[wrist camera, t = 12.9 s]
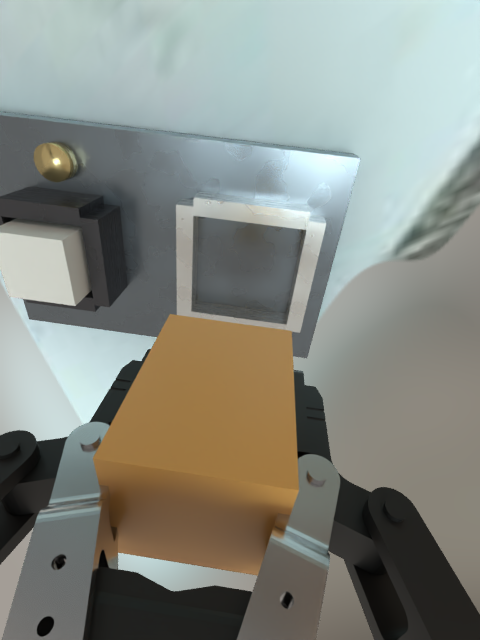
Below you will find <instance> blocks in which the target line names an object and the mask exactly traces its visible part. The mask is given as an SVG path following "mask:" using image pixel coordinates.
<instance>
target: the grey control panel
mask: <svg viewBox="0 0 480 640" xmlns="http://www.w3.org/2000/svg"><path fill="white" fill-rule="evenodd" d="M360 160H361V158H359V157H358V156H356V155H355V154H350V153H342V152H333V151H325V150H317V149H308V148H300V147H292V146H283V145H275V144H267V143H259V142H250V141H242V140H234V139H225V138H217V137H209V136H201V135H192V134H184V133H176V132H167V131H159V130H151V129H143V128H134V127H126V126H118V125H109V124H101V123H93V122H84V121H76V120H68V119H60V118H51V117H43V116H35V115H26V114H18V113H10V112H2V111H0V225H3V224H5V223H7V222H10V221H12V220H14V219H16V218H18V219H26V220H34V221H41V222H49V223H57V224H64V225H72V226H80V227H81V228H82V234H83V240H84V246H85V252H86V258H87V264H88V270H89V276H90V282H91V288H92V290H91V291H90V292H89V293H88V294H87V295H86V296H85V297H84V298H83V299H82V300H81V301H80V302H79V303H78V304H77V305H76V306H71V305H64V304H57V303H50V302H42V301H35V300H28V299H23V300H24V303H25V307H26V310H27V313H28V317H29V319H32V320H39V321H46V322H53V323H60V324H67V325H74V326H82V327H89V328H96V329H103V330H110V331H117V332H124V333H132V334H139V335H146V336H153V337H158V335H159V333H160V332H161V330H162V328H163V326H164V324H165V322H166V320H167V318H168V317H169V315H170V314H174V315H181V316H188V317H195V318H202V319H210V320H217V321H224V322H231V323H239V324H246V325H253V326H260V327H267V328H275V329H282V330H289V331H292V347H293V356H296V357H304V358H307V356H308V353H309V349H310V345H311V341H312V338H313V334H314V330H315V327H316V323H317V319H318V315H319V312H320V308H321V304H322V301H323V297H324V293H325V289H326V286H327V282H328V278H329V275H330V271H331V267H332V263H333V260H334V256H335V252H336V249H337V245H338V241H339V238H340V234H341V230H342V226H343V223H344V219H345V215H346V212H347V208H348V204H349V200H350V197H351V193H352V189H353V186H354V182H355V178H356V174H357V171H358V167H359V163H360Z"/></svg>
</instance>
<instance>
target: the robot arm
mask: <svg viewBox="0 0 480 640" xmlns="http://www.w3.org/2000/svg"><path fill="white" fill-rule="evenodd" d="M150 350H151V349H148V350H147V352H146V354H145V356H144V357H143V359H142V361H135V360H132V361H131V362H130V363H129V364H127V365H126V366H125V367H123V368H122V369H121V371H120V373H119V374H118V376H117V378H116V381H114V383H113V384H112V386H111V389H109V391H108V393H107V394H106V396H105V398H104V399H103V401H102V402H101V404H100V406H99V407H98V409H97V411H96V412H95V414H94V416H93V417H92V419H91V421H90V422H89V423H86V424H84V425H81V426H79V427H78V428H76V429H75V430H74V431H73V432H72V433H71V434H70V435H69V436H68V437H65V438H60V439H53V440H45V441H36V438H35V436H34V435H33V434H31V433H30V432H27V431H20V430H18V431H12V432H8V433H5V434H3V435H0V564H1V563H2V562H3V561H4V560H5V559H6V557H7V556H8V555H9V554H10V553H11V552H12V551H13V550H14V549H15V547H16V546H17V545H18V544H19V543H20V542H21V541H22V539H24V537H25V536H26V535H27V534H28V533H29V532H30V531H31V530H32V528H33V527H34V529H33V532H32V536H31V539H30V542H29V546H28V550H27V553H26V556H25V560H24V563H23V567H22V571H21V574H20V578H19V581H18V585H17V588H16V592H15V595H14V599H13V602H12V606H11V609H10V613H9V616H8V620H7V623H6V627H5V630H4V634H3V637H2V640H316V638H317V632H318V627H319V621H320V615H321V609H322V604H323V598H324V592H325V587H326V581H327V575H328V569H329V562H330V555H329V553H328V551H330V552H331V553H333V554H335V555H337V556H339V557H341V558H343V559H344V561H345V564H346V566H347V569H348V572H349V574H350V577H351V579H352V582H353V585H354V588H355V590H356V593H357V595H358V598H359V601H360V603H361V606H362V608H363V611H364V614H365V616H366V619H367V622H368V624H369V627H370V630H371V632H372V634H373V637H374V640H480V614H479V613H478V611H477V609H476V608H475V606H474V604H473V603H472V601H471V599H470V598H469V596H468V594H467V593H466V591H465V589H464V588H463V586H462V585H461V583H460V581H459V579H458V578H457V576H456V574H455V573H454V571H453V570H452V568H451V566H450V564H449V563H448V561H447V559H446V558H445V556H444V554H443V553H442V551H441V550H440V548H439V546H438V544H437V543H436V541H435V539H434V538H433V536H432V534H431V533H430V531H429V529H428V528H427V526H426V524H425V523H424V521H423V519H422V518H421V516H420V514H419V513H418V511H417V509H416V508H415V506H414V505H413V503H412V502H411V501H410V500H409V499H408V498H407V497H405V496H404V495H403V494H402V493H400V492H398V491H396V490H394V489H391V488H387V487H381V488H377V489H375V490H374V491H372V492H369V491H367V490H365V489H363V488H361V487H358V486H356V485H354V484H352V483H350V482H349V481H347V480H346V479H344V478H343V477H342V476H341V475H340V474H339V473H338V471H337V469H336V468H335V467H334V465H333V463H332V461H331V456H330V449H329V442H328V435H327V428H326V422H325V413H324V406H323V399H322V397H321V395H320V393H319V392H318V390H317V389H316V387H313V386H306V385H304V374H303V371H298V370H294V391H295V413H296V435H297V457H298V479H299V492H298V495H297V498H296V500H295V503H294V506H293V509H292V512H291V515H287V514H280V513H278V516H277V519H276V522H275V525H274V528H273V531H272V534H271V537H270V540H269V543H268V546H267V549H266V552H265V555H264V558H263V561H262V564H261V567H260V570H259V573H258V576H257V580H256V583H255V586H254V589H253V592H251V591H245V590H239V589H232V588H226V587H220V586H210V587H203V588H196V589H191V590H183V591H175V592H174V591H170V590H168V589H166V588H164V587H163V586H161V585H159V584H157V583H155V582H153V581H151V580H149V579H148V578H146V577H144V576H142V575H140V574H138V573H136V572H130V571H124V570H118V538H119V535H118V530H117V527H112V526H110V521H109V505H110V492H109V488H108V486H103V485H99V482H98V478H97V474H96V470H95V466H94V462H93V457H94V455H95V453H96V451H97V449H98V448H99V446H100V444H101V442H102V440H103V438H104V436H105V434H106V433H107V431H108V429H109V427H110V425H111V423H112V421H113V419H114V418H115V416H116V414H117V412H118V410H119V408H120V406H121V405H122V403H123V401H124V399H125V397H126V395H127V393H128V391H129V390H130V388H131V386H132V384H133V382H134V380H135V378H136V376H137V375H138V373H139V371H140V369H141V367H142V365H143V363H144V361H145V360H146V358H147V356H148V354H149V352H150Z"/></svg>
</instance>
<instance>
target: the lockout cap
mask: <svg viewBox="0 0 480 640" xmlns="http://www.w3.org/2000/svg"><path fill="white" fill-rule="evenodd" d="M93 462H94V466H95V470H96V474H97V478H98V482H99V485H103V486H108V488H109V492H110V505H109V521H110V526H112V527H117V530H118V535H119V538H118V553H124V554H130V555H136V556H143V557H149V558H155V559H161V560H167V561H173V562H179V563H185V564H191V565H198V566H203V567H210V568H215V569H221V570H227V571H233V572H240V573H246V574H252V575H258V573H259V570H260V567H261V564H262V561H263V558H264V555H265V552H266V549H267V546H268V543H269V540H270V537H271V534H272V531H273V528H274V525H275V522H276V519H277V516H278V513H280V514H287V515H291V512H292V509H293V506H294V503H295V500H296V498H297V495H298V492H299V479H298V457H297V435H296V413H295V391H294V369H293V347H292V331H289V330H282V329H275V328H267V327H260V326H253V325H246V324H239V323H231V322H224V321H217V320H210V319H202V318H195V317H188V316H181V315H174V314H170V315H169V317H168V318H167V320H166V322H165V324H164V326H163V328H162V330H161V332H160V333H159V335H158V337H157V339H156V341H155V343H154V345H153V346H152V348H151V350H150V352H149V354H148V356H147V358H146V360H145V361H144V363H143V365H142V367H141V369H140V371H139V373H138V375H137V376H136V378H135V380H134V382H133V384H132V386H131V388H130V390H129V391H128V393H127V395H126V397H125V399H124V401H123V403H122V405H121V406H120V408H119V410H118V412H117V414H116V416H115V418H114V419H113V421H112V423H111V425H110V427H109V429H108V431H107V433H106V434H105V436H104V438H103V440H102V442H101V444H100V446H99V448H98V449H97V451H96V453H95V455H94V457H93Z"/></svg>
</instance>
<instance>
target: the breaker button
mask: <svg viewBox="0 0 480 640" xmlns="http://www.w3.org/2000/svg"><path fill="white" fill-rule="evenodd" d="M0 269H1V272H2V275H3V279H4V282H5V285H6V288H7V291H8V294H9V297H14V298H21V299H28V300H35V301H42V302H50V303H57V304H64V305H71V306H76V305H77V304H78V303H79V302H80V301H81V300H82V299H83V298H84V297H85V296H86V295H87V294H88V293H89V292H90V291H91V290H92V288H91V282H90V276H89V270H88V264H87V258H86V252H85V246H84V240H83V234H82V228H81V227H80V226H72V225H64V224H57V223H49V222H41V221H34V220H26V219H18V218H16V219H14V220H12V221H10V222H7V223H5V224H3V225H0Z"/></svg>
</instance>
